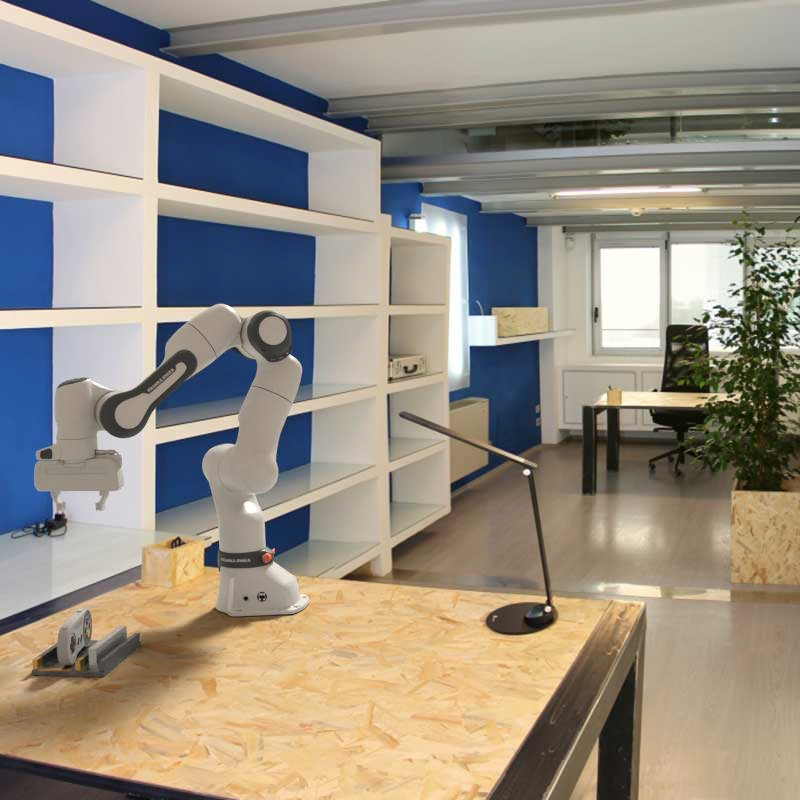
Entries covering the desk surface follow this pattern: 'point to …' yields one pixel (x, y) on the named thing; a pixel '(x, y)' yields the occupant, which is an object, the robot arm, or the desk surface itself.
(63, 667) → the phone stand
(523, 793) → the desk surface
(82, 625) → the game controller
